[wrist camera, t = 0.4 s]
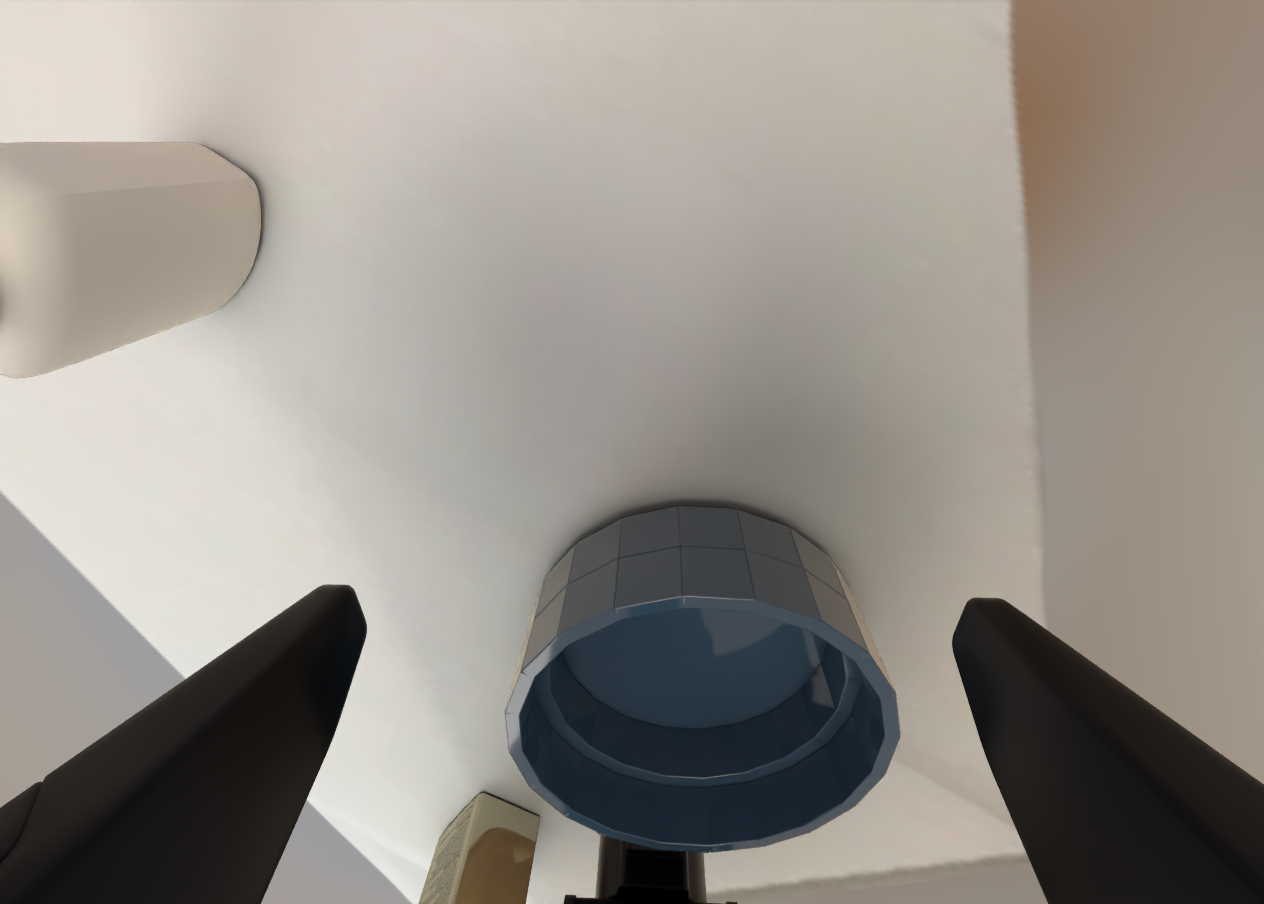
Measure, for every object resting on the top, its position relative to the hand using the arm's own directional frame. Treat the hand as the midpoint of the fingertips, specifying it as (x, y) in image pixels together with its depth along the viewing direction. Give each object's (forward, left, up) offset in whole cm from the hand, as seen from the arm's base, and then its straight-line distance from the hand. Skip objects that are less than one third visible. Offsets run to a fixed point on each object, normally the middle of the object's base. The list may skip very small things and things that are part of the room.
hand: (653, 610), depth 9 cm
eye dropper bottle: (+3, +16, -15) cm, 22 cm away
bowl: (-15, -3, -14) cm, 21 cm away
